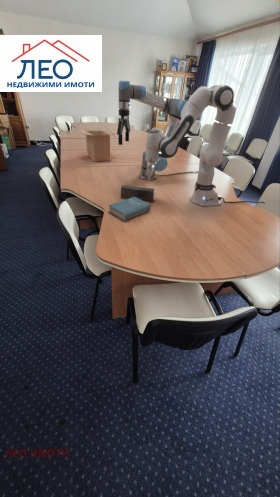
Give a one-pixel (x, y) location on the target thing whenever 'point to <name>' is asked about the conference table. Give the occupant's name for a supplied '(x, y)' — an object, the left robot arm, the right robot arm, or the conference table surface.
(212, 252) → the conference table surface
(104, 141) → the box
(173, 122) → the left robot arm
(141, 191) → the bar
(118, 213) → the book
